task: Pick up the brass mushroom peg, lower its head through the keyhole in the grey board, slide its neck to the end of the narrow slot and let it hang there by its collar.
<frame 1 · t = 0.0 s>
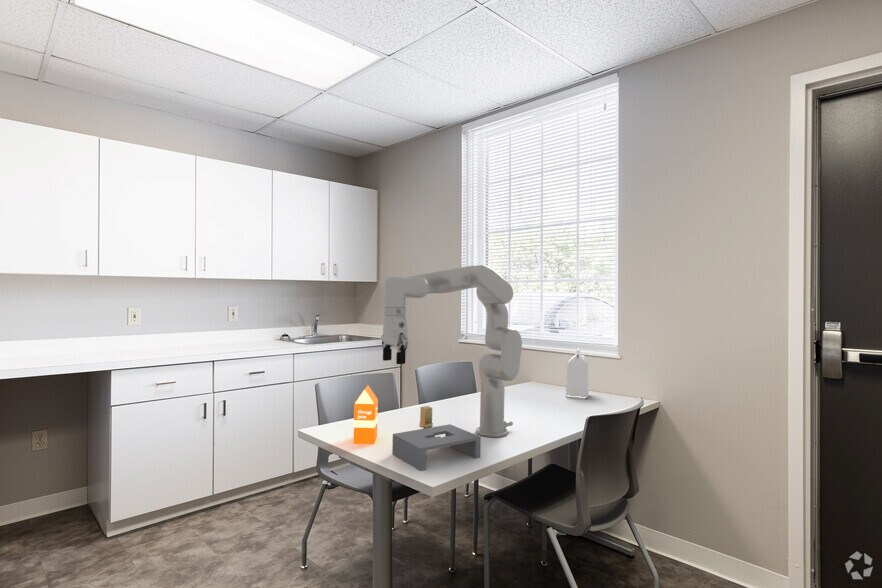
hand: (393, 362, 167), 31 cm above the table, tool pointing down, fingers open, 9 cm apart
brass peg: (425, 440, 180), on the table
keyhole board: (436, 455, 164), on the table
milk: (577, 396, 266), on the table
orange juice: (365, 440, 180), on the table
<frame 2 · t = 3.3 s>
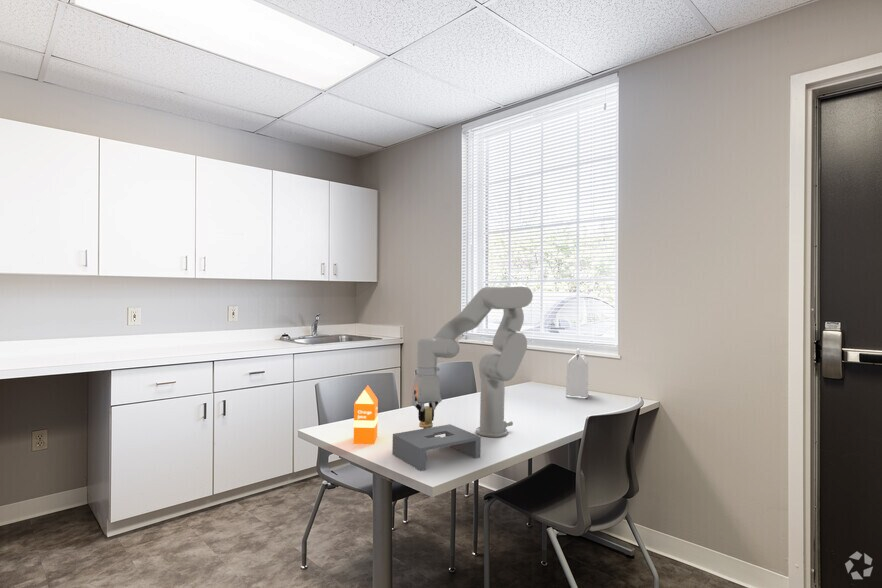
hand: (426, 420, 180), 8 cm above the table, tool pointing down, fingers closed on brass peg, 3 cm apart
brass peg: (425, 440, 180), on the table, touching gripper
everything else where it was.
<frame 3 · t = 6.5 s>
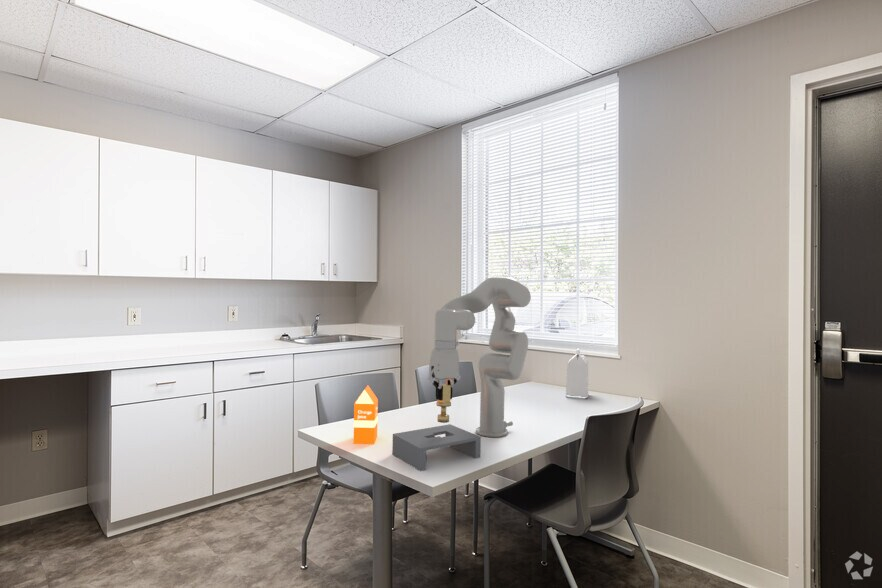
hand: (443, 398, 165), 19 cm above the table, tool pointing down, fingers closed on brass peg, 3 cm apart
brass peg: (443, 421, 165), point 11 cm above the table, touching gripper
everything else where it was.
when the fingers open (9 cm above the table, at t = 9.8 s): brass peg stays where it is, resting on keyhole board.
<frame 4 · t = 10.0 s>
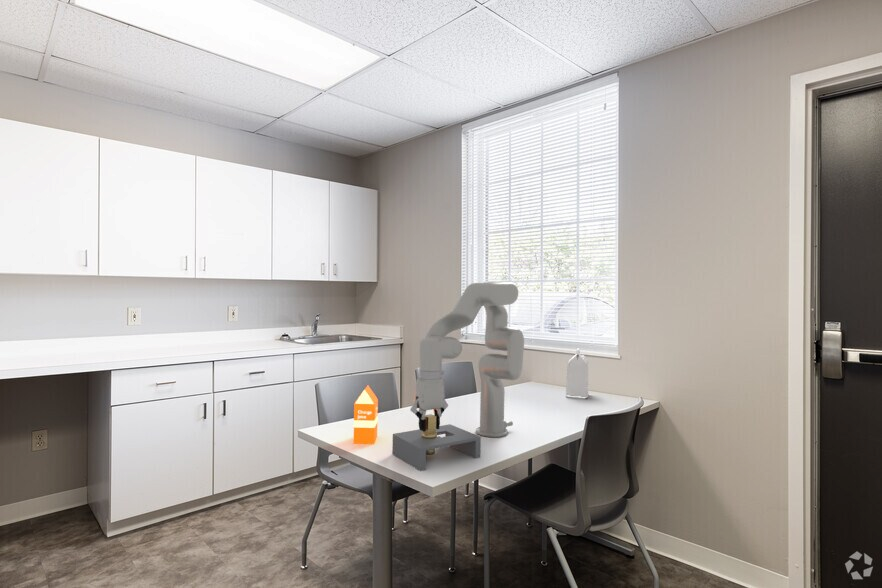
hand: (429, 428, 162), 10 cm above the table, tool pointing down, fingers open, 4 cm apart
brass peg: (429, 452, 162), point 1 cm above the table, touching keyhole board
everything else where it was.
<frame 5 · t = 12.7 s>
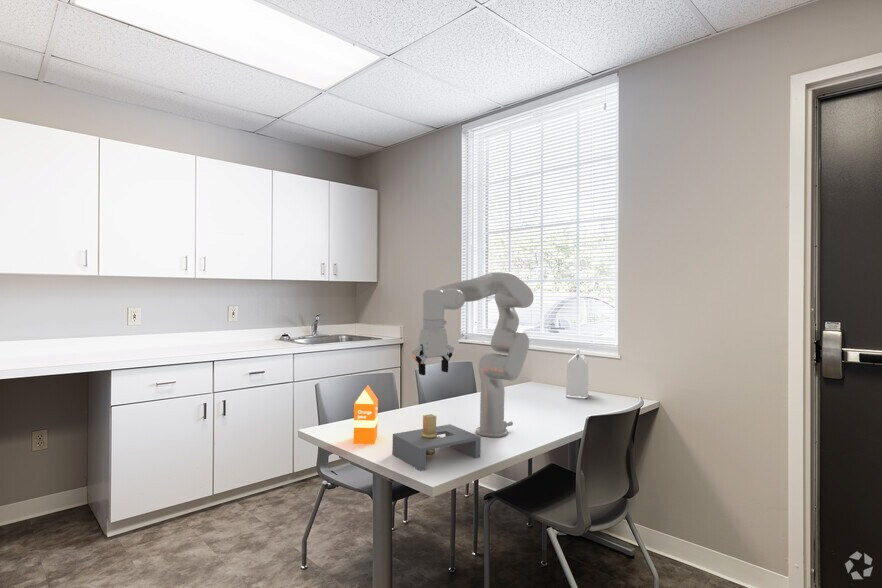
hand: (433, 373, 169), 27 cm above the table, tool pointing down, fingers open, 9 cm apart
nothing on the table moved.
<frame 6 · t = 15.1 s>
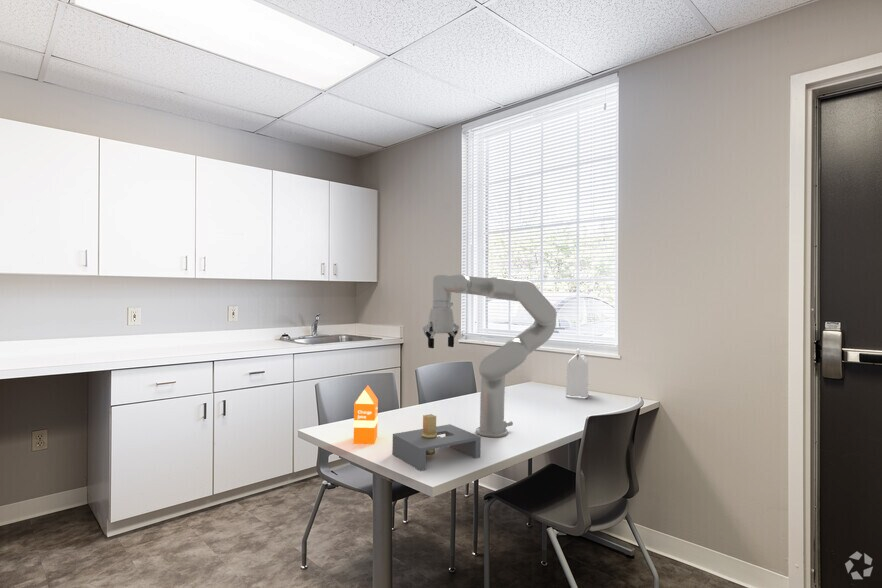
hand: (441, 347, 196), 33 cm above the table, tool pointing down, fingers open, 9 cm apart
nothing on the table moved.
at the end: brass peg 0.1 cm from the target spot on the keyhole board, point 1.5 cm above the keyhole board's base; the gripper is holding nothing; brass peg tilted 0° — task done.
